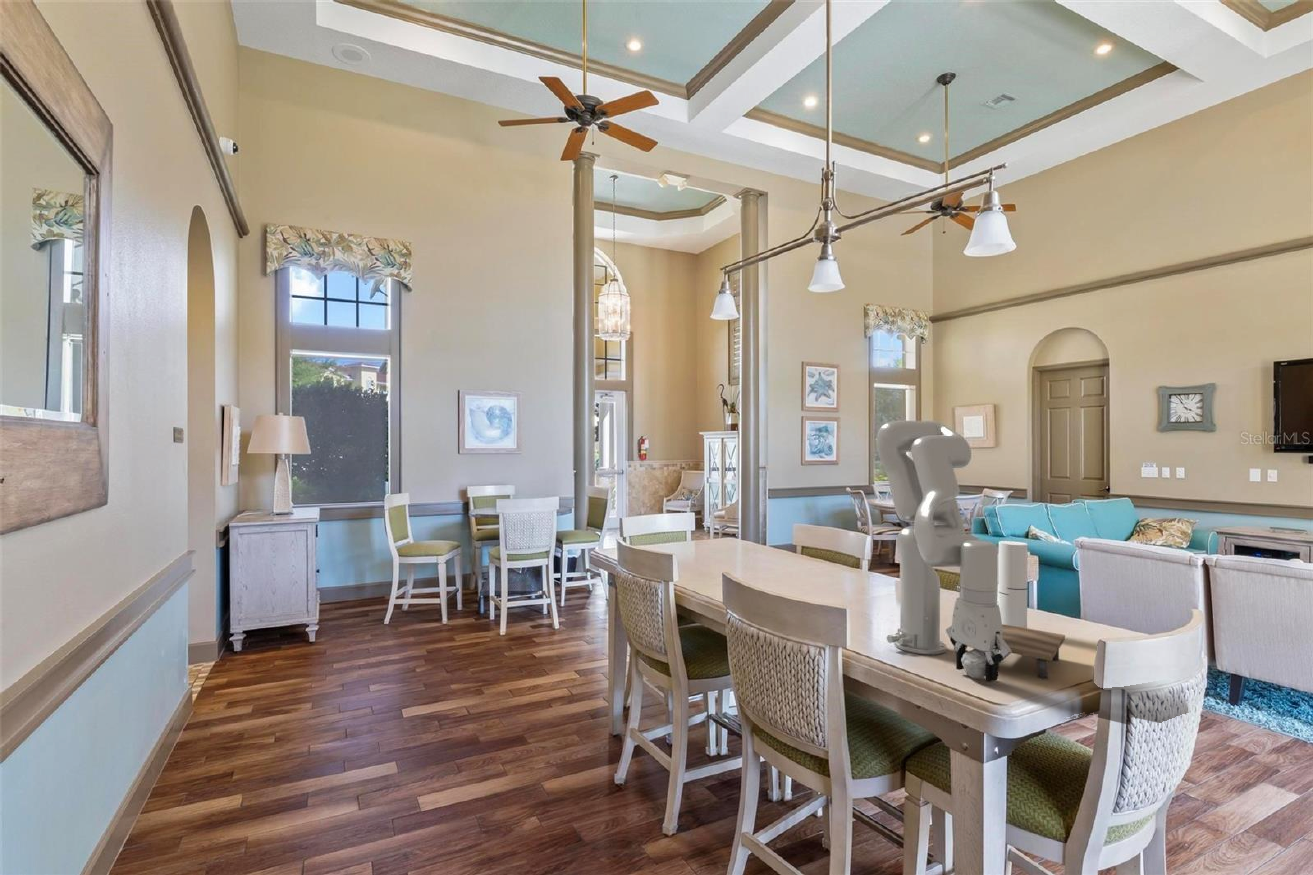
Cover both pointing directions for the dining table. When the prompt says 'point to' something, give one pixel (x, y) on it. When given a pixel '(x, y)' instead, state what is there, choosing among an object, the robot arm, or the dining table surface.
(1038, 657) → the walnut shelf
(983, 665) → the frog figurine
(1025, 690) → the dining table surface
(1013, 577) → the cylindrical container
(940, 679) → the dining table surface
